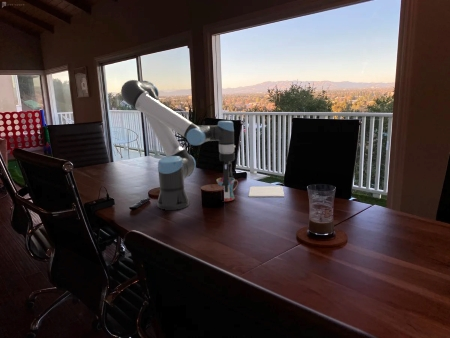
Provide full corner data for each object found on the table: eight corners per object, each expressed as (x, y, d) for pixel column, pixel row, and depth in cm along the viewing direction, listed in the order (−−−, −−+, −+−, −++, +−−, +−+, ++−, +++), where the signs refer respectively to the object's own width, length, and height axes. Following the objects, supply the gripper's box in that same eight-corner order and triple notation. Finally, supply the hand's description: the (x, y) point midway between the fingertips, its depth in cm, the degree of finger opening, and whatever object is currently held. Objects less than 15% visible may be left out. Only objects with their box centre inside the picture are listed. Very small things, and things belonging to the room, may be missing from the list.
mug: (223, 203, 156) (222, 182, 153) (213, 199, 164) (213, 179, 161) (243, 199, 162) (243, 178, 159) (233, 195, 170) (233, 175, 167)
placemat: (284, 196, 163) (284, 195, 163) (248, 196, 165) (248, 195, 165) (282, 187, 180) (282, 186, 180) (250, 187, 183) (250, 186, 183)
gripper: (231, 156, 145) (233, 201, 149) (236, 148, 169) (237, 187, 174) (215, 157, 146) (217, 201, 150) (222, 148, 170) (224, 187, 175)
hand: (228, 194), depth 162 cm, fingers open, 13 cm apart
